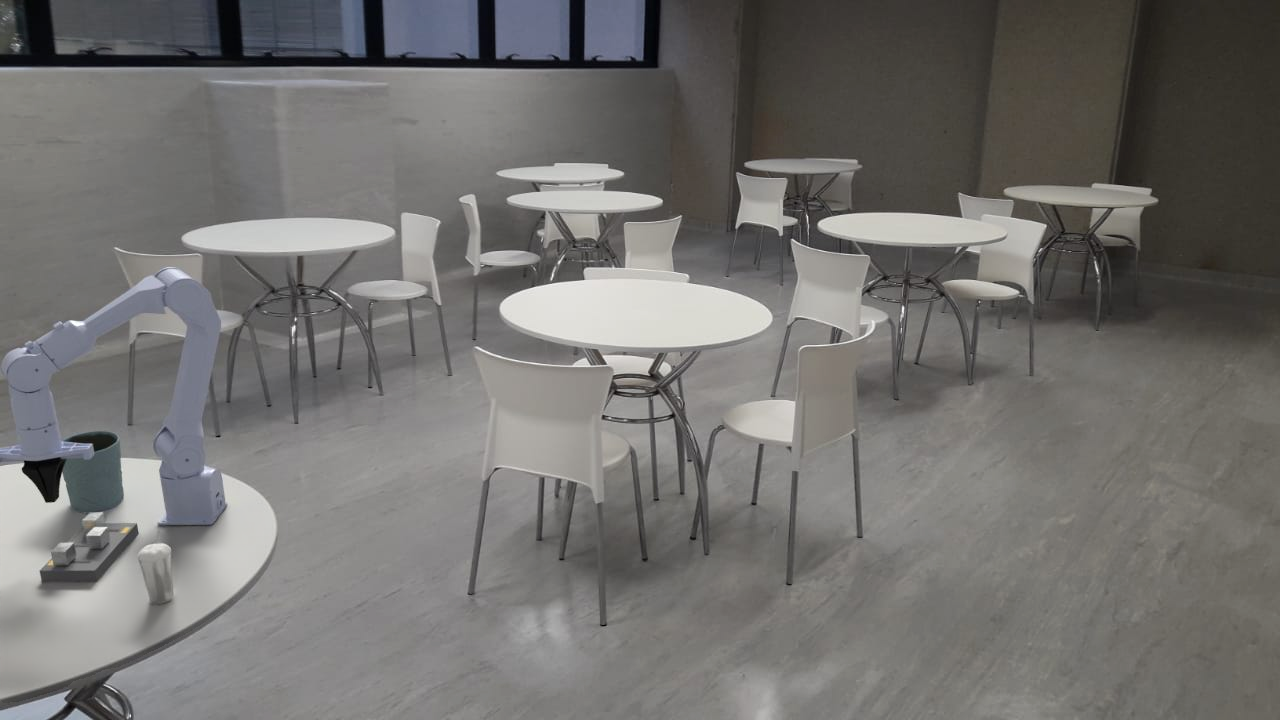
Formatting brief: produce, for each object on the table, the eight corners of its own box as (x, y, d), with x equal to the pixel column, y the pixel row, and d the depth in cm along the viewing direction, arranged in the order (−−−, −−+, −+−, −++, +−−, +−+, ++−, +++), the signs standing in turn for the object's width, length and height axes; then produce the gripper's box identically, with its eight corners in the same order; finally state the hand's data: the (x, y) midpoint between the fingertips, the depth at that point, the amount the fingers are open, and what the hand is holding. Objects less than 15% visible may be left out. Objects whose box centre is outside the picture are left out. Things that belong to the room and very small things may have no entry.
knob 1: (76, 555, 159) (73, 542, 158) (67, 565, 156) (65, 551, 156) (62, 555, 159) (59, 542, 158) (53, 565, 156) (50, 551, 155)
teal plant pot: (87, 488, 186) (76, 429, 182) (140, 490, 185) (130, 431, 181) (55, 514, 176) (42, 452, 172) (111, 516, 176) (100, 454, 172)
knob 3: (110, 539, 164) (107, 526, 163) (102, 548, 161) (99, 535, 160) (96, 539, 164) (94, 527, 163) (88, 548, 161) (85, 535, 160)
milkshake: (183, 586, 155) (173, 530, 152) (173, 605, 150) (164, 548, 147) (152, 588, 155) (142, 532, 151) (141, 608, 150) (131, 550, 146)
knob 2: (105, 524, 168) (103, 512, 168) (98, 533, 166) (95, 520, 165) (92, 524, 168) (90, 512, 168) (84, 533, 166) (82, 520, 165)
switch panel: (138, 533, 170) (136, 522, 170) (97, 581, 156) (94, 570, 156) (88, 533, 170) (86, 522, 169) (41, 581, 156) (39, 570, 155)
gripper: (94, 411, 162) (108, 486, 166) (-2, 415, 160) (14, 490, 164) (78, 428, 155) (93, 505, 160) (-23, 433, 153) (-5, 511, 158)
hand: (52, 499), depth 162 cm, fingers closed
